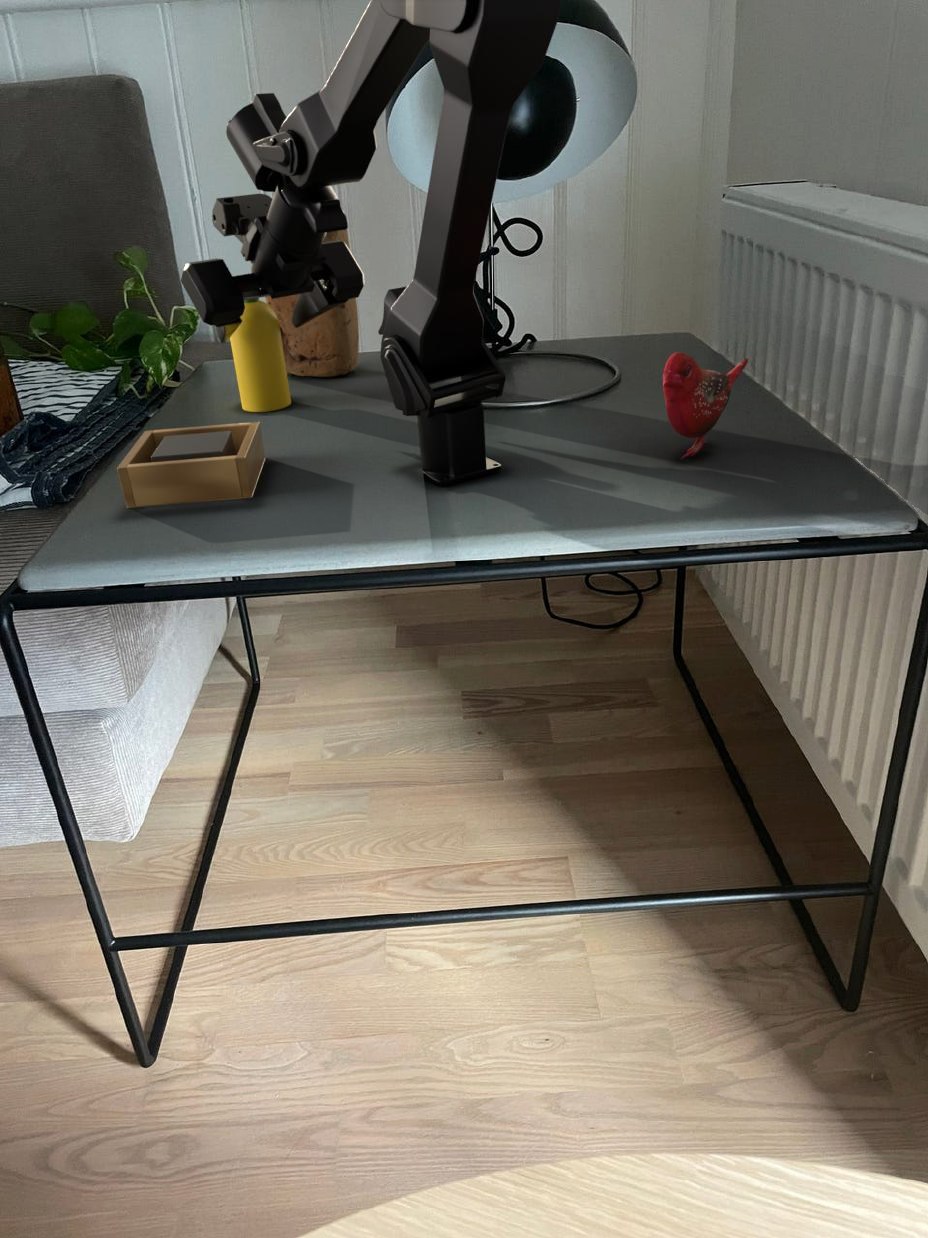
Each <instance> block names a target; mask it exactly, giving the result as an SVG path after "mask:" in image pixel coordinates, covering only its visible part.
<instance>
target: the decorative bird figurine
mask: <svg viewBox="0 0 928 1238" xmlns="http://www.w3.org/2000/svg"><path fill="white" fill-rule="evenodd" d="M748 358H749V357H748ZM748 358H744V359H743V360H742V361H740V362H739V363H738V364H737V365H736V366H735V367H734V368H732V369H731V370H730V371H729V372H728V373H726V374H724V373H722V372H720V371H717V370H712V369H702V368H700V367H699V366H700V365H698V363H697V362H696V359H694V357H692V355H691V356H690V355H689V354H688V353H684V352H680V351H679V352H678V351H676V352H674V353H672V354H670V356H669V357H668V359H667V361H666V363H665V365H664V368H663V374H662V390H663V396H664V402H665V411H666V414H667V419H668V421H669V423H670V425H671V427H672V428H673V430H674V431H675V432H676V433H677V434H679V435H680V436H682V437H684V438H689V439H695V438H696V440H695V442H693V445H692V446H691V447H690V448H688V449H687V451H686V454H685V453H684V454H683V455H682V456H681V458H680V460H682V459H684V458H687V457H694V456H695V455H696V454H697V453H698V452H699V451H700V450H702V449H703V448H704V445H707V444H708V443H707V441H706V440H704V438H705V436H706V435H707V433H709V432H710V431H712V429H714V427H715V426H716V425H717V423H718V421H719V419H720V418H721V416H722V414H723V412H724V411H725V409H726V407H727V406H728V403H729V400H730V396H731V392H732V388H733V386H734V384H735V382H736V380H737V379H738V378H739V376H740V375H741V373H742V372H743V370H744V369H745V367H746V366H747V364H748V362H749V359H748Z"/></svg>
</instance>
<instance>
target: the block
mask: <svg viewBox="0 0 928 1238" xmlns="http://www.w3.org/2000/svg"><path fill="white" fill-rule="evenodd" d="M341 208H342V210H343V211H344V208H343V207H342V206H341ZM336 240H338V241H344V243H345V244H346V245H347V247H348V248H349V250H350V251H351V245H350V240H349V234H348V228H347V229H346V230H340V231H334V232H327V233H326V236H325V238H324V241H323V242H329V241H336ZM298 296H299V294H296V295H291V296H285V297H280V298H275V299H272V298H271V297H270V296H266V297H264V298H265V303H266V304H268V305H269V306H270V307H271V308H272V309H273V310H274V311H275V313H276V315H277V317H278V320H279V325H280V332H281V339H282V345H283V352H284V358H285V365H286V372H287V376H290V375H291V376H292V375H295V376H298V377H317V378H329V377H338V376H345V375H347V374H350V373H352V372H353V371H355V370H356V369H357V366H358V362H359V350H360V346H359V345H360V332H359V331H360V330H359V329H360V328H359V313H358V305H357V304H358V303H357V298H352V299H349V300H348V301H347V302H346V303H343V304H340V305H338V306H336V307H334V308H332V309H331V310H329V311H327V312H325V313H323V314H321V315H319V316H317V317H316V318H314V319H312V320H311V321H309V322H307V323H305V324H304V325H302V326H300V327H298V328H295V327H294V325H293V323H292V315H293V311H294V308H295V305H296V302H297V299H298Z"/></svg>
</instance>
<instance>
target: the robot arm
mask: <svg viewBox="0 0 928 1238" xmlns="http://www.w3.org/2000/svg"><path fill="white" fill-rule="evenodd" d="M561 5H562V0H370V1H369V3H368V4H367V6H366V8H365V10H364V12H363V14H362V16H361V18H360V20H359V22H358V23H357V25H356V27H355V29H354V31H353V32H352V34H351V36H350V38H349V40H348V42H347V43H346V45H345V47H344V49H343V51H342V53H341V54H340V57H339V59H338V61H337V62H336V64H335V66H334V68H333V69H332V72H331V73H330V75H329V77H328V78H327V80H326V82H325V83H324V85H323V86H322V87H321V88H320V90H318V91H316V92H315V93H313V94H312V95H310V96H308V97H306V98H304V99H303V100H301V101H299V102H298V103H297V104H296V105H295V106H294V108H293V109H292V110H291V111H290V112H289V114H288V115H286V113H285V111H284V110H283V108H282V105H281V103H280V101H279V100H278V97H277V96H276V94H275V93H274V92H267V93H266V92H265V93H254V95H253V100H252V103H251V102H250V103H249V104H247V105H245V106H244V107H242V108H241V109H239V110H238V111H237V112H236V113H235V114H234V116H232V118H231V119H230V120H228V121H227V123H226V124H227V125H226V131H225V133H226V138H227V140H228V141H229V143H230V145H231V147H232V148H233V150H234V152H235V154H236V155H237V157H238V159H239V161H240V162H241V164H242V166H243V168H244V170H245V171H246V172H247V175H248V176H249V178H250V180H251V181H252V183H253V184H254V185H253V186H254V187H255V189H256V190H258V191H261V192H267V193H273V196H272V197H271V196H270V195H268V194H265V193H252V194H244V195H235V196H233V195H232V196H225V197H216V199H215V202H214V204H213V207H212V211H211V218H212V220H211V222H212V225H213V227H214V228H215V229H216V231H218V232H219V233H220V234H221V235H222V236H223V237H231V236H234V237H235V238H236V239H237V240H238V241H239V242H240V243H241V244H242V246H241V249H240V254H241V255H242V257H243V260H244V261H245V262H250V264H251V267H250V270H251V272H249V273H244V274H239V275H233V274H232V273H231V271H230V269H229V267H228V265H227V263H226V262H225V260H224V259H223V258H211V259H204V260H198V261H191V262H186V263H185V265H184V267H183V269H182V274H181V276H180V277H181V278H180V283H181V284H182V287H183V288H184V290H185V292H186V293H187V295H188V297H189V299H190V301H191V303H192V305H193V306H194V308H195V310H196V311H197V314H198V316H199V317H200V319H201V321H202V323H204V324H207V325H209V326H211V327H212V326H214V328H215V331H216V335H217V337H218V338H217V339H218V340H219V342H220V343H221V344H225V343H226V342H228V340H230V337H231V336H232V334H233V333H234V332H235V330H236V329H237V328H238V327H239V325H240V324H241V323H242V319H241V318H240V317H241V316H242V315H243V313H244V310H245V305H244V300H250V299H255V298H259V299H261V298H265V297H266V296H270V297H271V298H272V299H275V298H280V297H285V296H291V295H296V294H299V296H298V299H297V302H296V305H295V308H294V311H293V315H292V323H293V325H294V327H295V328H298V327H300V326H302V325H304V324H305V323H307V322H309V321H311V320H312V319H314V318H316V317H317V316H319V315H321V314H323V313H325V312H327V311H329V310H331V309H332V308H334V307H336V306H338V305H340V304H343V303H346V302H347V301H348V300H349V299H352V298H356V299H357V298H359V297H360V295H361V292H362V291H363V289H364V286H365V283H366V281H365V274H364V272H363V270H362V268H361V266H360V265H359V264H358V262H357V260H356V259H355V257H354V255H353V253H352V251H351V249H350V250H349V248H348V247H347V245H346V244H345V243H344V241H338V240H336V241H329V242H323V241H324V238H325V236H326V233H327V232H334V231H340V230H346V229H347V230H348V228H349V223H348V218H347V215H346V213H345V212H344V209H343V210H342V208H343V207H342V202H341V200H340V199H339V197H338V195H337V194H336V192H335V190H334V188H333V187H332V186H340V185H348V184H356V183H359V182H360V181H361V180H362V179H364V177H365V175H366V173H367V171H368V168H369V167H370V164H371V162H372V160H373V157H374V155H375V153H376V150H377V147H378V142H377V135H376V130H375V128H376V126H377V124H378V122H379V119H380V118H381V116H382V114H383V113H384V111H385V110H386V108H387V107H388V105H389V103H390V102H391V101H392V99H393V98H394V96H395V94H396V93H397V91H398V89H400V87H401V85H402V83H403V82H404V80H405V78H406V77H407V75H408V74H409V72H410V71H411V69H412V68H413V66H414V65H415V63H416V61H417V60H418V58H419V57H420V55H421V53H422V52H423V50H424V48H425V47H426V45H427V44H428V42H429V48H430V51H431V54H432V57H433V61H434V63H435V66H436V69H437V72H438V75H439V77H440V80H441V85H442V86H443V95H442V103H441V109H440V116H439V121H438V127H437V132H436V133H437V134H436V139H435V146H434V152H433V157H432V163H431V170H430V175H429V182H428V188H427V194H426V201H425V207H424V212H423V219H422V226H421V232H420V237H419V243H418V250H417V256H416V262H415V268H414V274H413V277H412V279H411V281H409V283H408V284H407V285H405V286H400V287H394V288H390V289H387V292H386V294H385V296H384V298H383V316H382V321H381V324H380V327H379V329H378V331H377V332H378V335H380V336H381V342H380V356H379V357H380V360H381V361H380V362H381V365H382V368H383V372H384V375H385V378H386V381H387V384H388V388H389V391H390V394H391V398H392V400H393V405H394V408H395V409H396V410H399V411H401V412H402V416H405V417H416V418H417V428H418V429H417V430H418V437H419V438H418V440H419V451H420V458H421V459H420V461H421V467H422V476H423V478H424V479H425V480H428V481H429V482H430V483H431V482H432V483H433V484H435V485H437V486H440V487H443V486H448V485H452V484H455V483H459V482H463V481H466V480H470V479H474V478H478V477H482V476H485V475H490V474H492V473H496V472H501V470H502V464H501V463H499V462H497V461H495V460H492V459H490V458H488V457H487V450H486V429H485V428H486V427H485V412H484V411H485V410H484V408H485V407H484V405H483V401H486V400H489V399H493V398H500V397H502V396H503V392H504V387H505V383H506V373H505V372H504V371H503V369H502V367H501V365H500V364H499V362H498V361H497V359H496V358H495V356H494V355H493V353H492V351H491V350H490V348H489V347H488V345H487V343H486V342H485V340H484V338H483V337H484V335H483V334H484V325H485V320H484V316H483V313H482V311H481V309H480V308H481V307H480V305H479V304H478V300H477V298H476V295H475V292H474V290H475V283H476V278H477V273H478V268H479V263H480V259H481V255H482V249H483V244H484V239H485V236H486V231H487V225H488V221H489V216H490V211H491V207H492V202H493V197H494V192H495V188H496V183H497V179H498V175H499V174H498V173H499V168H500V164H501V160H502V156H503V151H504V146H505V142H506V136H507V131H508V127H509V122H510V118H511V113H512V110H513V106H514V104H515V103H516V101H517V100H518V99H519V98H520V96H521V95H522V94H523V92H524V91H525V89H526V88H527V87H528V86H529V84H530V83H531V82H532V80H533V79H534V77H535V76H536V75H537V74H538V72H539V71H540V69H541V68H542V66H543V64H544V61H545V58H546V56H547V53H548V50H549V47H550V44H551V42H552V38H553V36H554V33H555V30H556V27H557V24H558V21H559V17H560V13H561V8H562V7H561ZM341 207H342V208H341ZM457 378H460V380H458V381H455V382H452V383H448V384H444V385H440V386H437V387H434V388H433V387H431V386H432V385H435V384H439V383H442V382H445V381H451V380H453V379H457Z"/></svg>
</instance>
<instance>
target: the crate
mask: <svg viewBox="0 0 928 1238" xmlns="http://www.w3.org/2000/svg"><path fill="white" fill-rule="evenodd" d="M223 431H231V433H232V438H233V444H234V449H235V454H236V455H235V456H223V457H211V458H199V459H187V460H175V461H163V462H152V460H151V456H152V455H153V454H154V452H155V451H156V449H157V448H158V446H159V445H160V443H161V442H162V440H163V439H164V437H165V436H174V435H186V434H199V433H211V432H223ZM265 461H266V452H265V445H264V440H263V435H262V429H261V423H260V421H251V422H250V421H249V422H238V423H225V424H212V425H202V426H201V425H200V426H189V427H176V428H175V427H174V428H165V429H164V428H163V429H152V430H151V429H149V430H145V431H143V433H142V435H141V436H140V437H139V439H138V440H137V441H136V442H135V443H134V445H133V447H132V448H131V449H130V451H129V452H128V453H127V454H126V456H125V457H124V458H123V459H122V461H121V462H120V463H119V465H118V466H117V468H116V469H117V475H118V479H119V482H120V486H121V487H120V488H121V490H122V494H123V498H124V502H125V507H126V509H130V508H143V507H144V508H145V507H154V506H168V505H178V504H189V503H190V504H191V503H203V502H211V501H224V500H225V501H226V500H236V499H237V500H239V499H249V498H253V496H254V493H255V489H256V487H257V483H258V481H259V478H260V475H261V473H262V469H263V467H264V463H265Z"/></svg>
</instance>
